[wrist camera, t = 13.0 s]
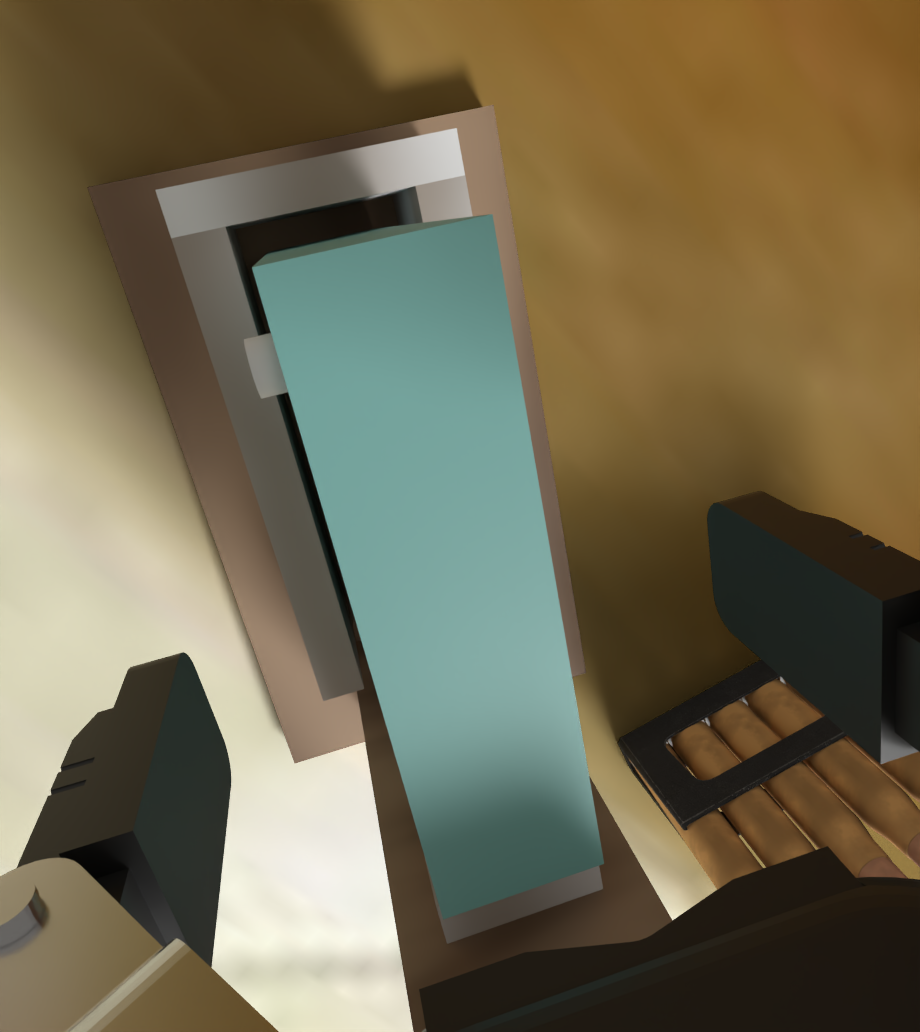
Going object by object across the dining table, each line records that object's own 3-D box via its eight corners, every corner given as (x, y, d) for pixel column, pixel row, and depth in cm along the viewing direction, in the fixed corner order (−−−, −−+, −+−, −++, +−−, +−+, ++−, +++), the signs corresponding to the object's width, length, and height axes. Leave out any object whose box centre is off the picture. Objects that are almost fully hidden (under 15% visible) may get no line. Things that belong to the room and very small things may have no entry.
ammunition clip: (630, 771, 32) (818, 1054, 21) (615, 740, 31) (801, 1017, 20) (851, 648, 32) (1151, 862, 21) (841, 614, 31) (1146, 818, 20)
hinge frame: (484, 110, 22) (1121, -297, 5) (576, 659, 29) (968, 1214, 12) (96, 189, 20) (-705, -29, 4) (294, 746, 28) (313, 1504, 11)
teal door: (374, 228, 21) (492, 214, 9) (452, 571, 25) (604, 864, 13) (240, 258, 21) (183, 282, 9) (342, 602, 25) (399, 935, 13)
